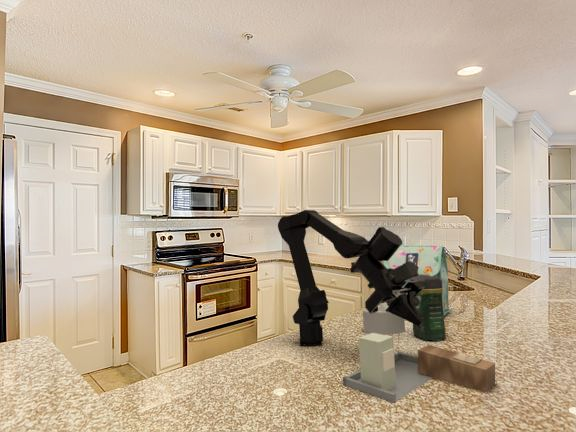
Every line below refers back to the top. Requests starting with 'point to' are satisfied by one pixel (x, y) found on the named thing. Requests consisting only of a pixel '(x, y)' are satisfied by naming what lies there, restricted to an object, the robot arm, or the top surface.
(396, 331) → the lumpy-topped squat cylinder
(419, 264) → the lunch bag
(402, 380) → the parts tray
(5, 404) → the top surface
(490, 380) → the walnut box
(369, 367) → the sage box
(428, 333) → the coffee jar
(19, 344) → the top surface
